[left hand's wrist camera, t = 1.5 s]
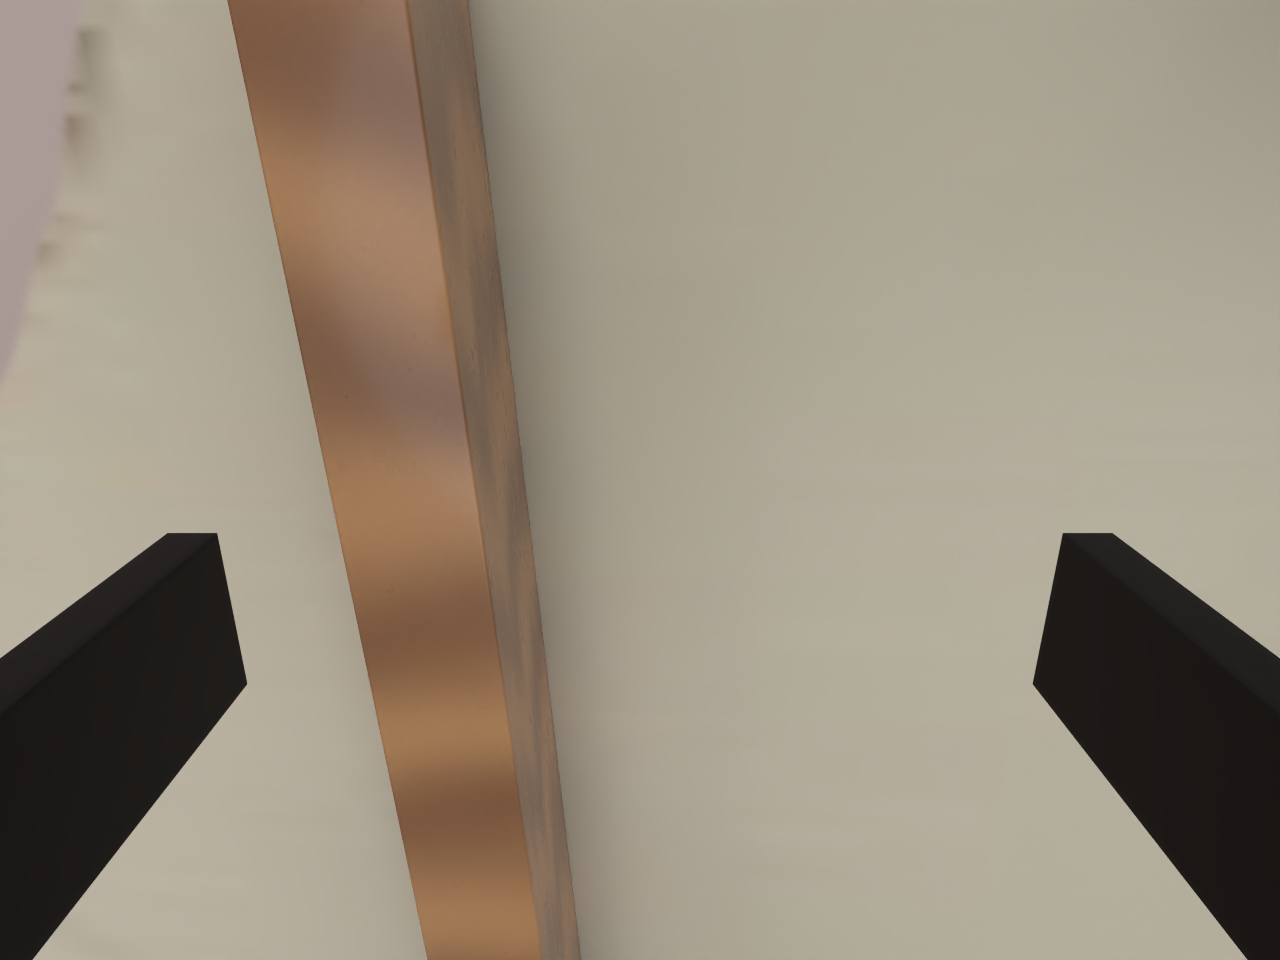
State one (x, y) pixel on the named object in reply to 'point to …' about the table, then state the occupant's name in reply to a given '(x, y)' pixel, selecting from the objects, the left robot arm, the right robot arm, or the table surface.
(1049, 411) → the table surface
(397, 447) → the wooden plank
